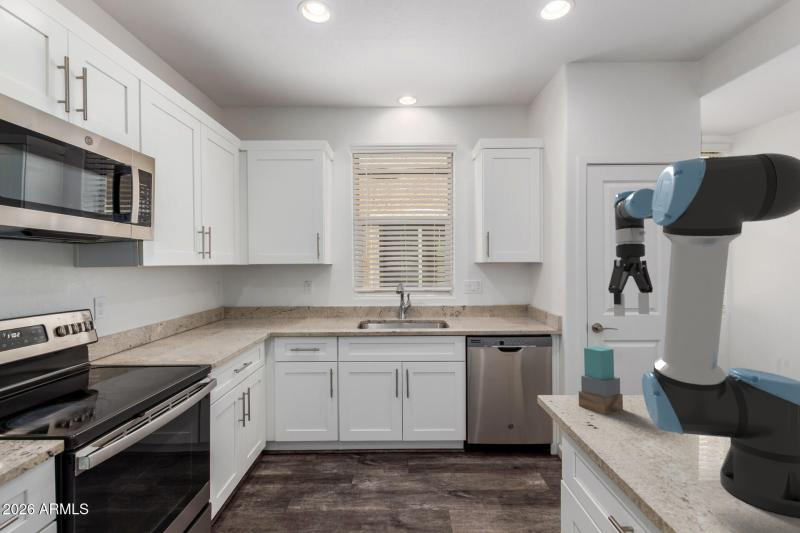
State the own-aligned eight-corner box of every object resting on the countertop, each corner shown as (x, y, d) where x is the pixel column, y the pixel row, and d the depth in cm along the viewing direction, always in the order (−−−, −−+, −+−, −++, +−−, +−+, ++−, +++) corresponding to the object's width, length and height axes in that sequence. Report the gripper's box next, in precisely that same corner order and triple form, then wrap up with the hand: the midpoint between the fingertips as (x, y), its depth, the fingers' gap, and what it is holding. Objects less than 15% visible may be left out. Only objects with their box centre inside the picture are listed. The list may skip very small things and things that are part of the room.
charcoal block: (605, 398, 120) (605, 381, 120) (581, 391, 127) (581, 376, 127) (620, 393, 124) (619, 377, 124) (596, 387, 131) (596, 372, 131)
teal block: (601, 380, 122) (600, 351, 122) (584, 375, 127) (584, 347, 127) (614, 377, 124) (613, 349, 124) (597, 373, 130) (596, 346, 130)
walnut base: (604, 415, 119) (604, 398, 119) (578, 406, 127) (578, 391, 127) (622, 410, 123) (622, 394, 124) (596, 402, 131) (596, 387, 131)
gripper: (619, 240, 108) (621, 317, 107) (664, 245, 121) (666, 314, 120) (593, 242, 114) (595, 316, 113) (638, 247, 127) (640, 312, 126)
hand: (632, 315), depth 117 cm, fingers open, 13 cm apart
